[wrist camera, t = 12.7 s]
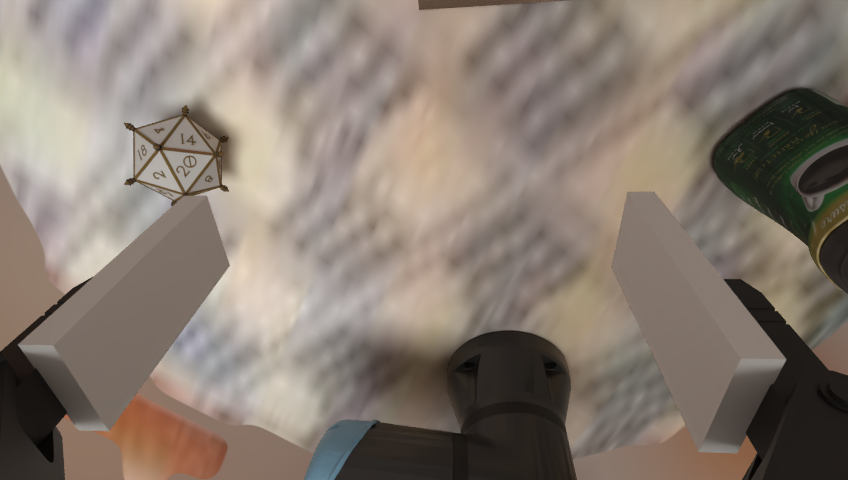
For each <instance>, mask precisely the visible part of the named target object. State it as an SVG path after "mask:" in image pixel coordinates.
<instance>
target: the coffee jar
mask: <svg viewBox="0 0 848 480" xmlns="http://www.w3.org/2000/svg"><path fill="white" fill-rule="evenodd" d="M713 165H714V170H715V172H716V174H717V176H718V177H719V179H720V180H721V181H722V182H723V183H724V185H725V186H726V187H727V188H728V189H730V190H731V191H732V192H733V193H734V194H735V195H737V196H738V197H739V198H740V199H742V200H743V201H745V202H746V203H747V204H749V205H751V206H752V207H754V208H755V209H757V210H758V211H760V212H761V213H763V214H764V215H766V216H768V217H769V218H771V219H773V220H774V221H775V222H777V223H778V224H780V225H781V226H783V227H784V228H786V229H787V230H788V231H790V232H791V233H793V234H794V235H795V236H796V237H797V238H799V239H800V240H801V241H802V242H804V243H805V244H806V245H807V246H808V247H809V251H810V254H811V257H812V259H813V260H814V262H815V264H816V265H817V267H818V268H819V269H820V271H821V272H822V273H823V274H824V275H825V276H826V277H827V278H828V279H829V280H830V281H831V282H832V283H833V284H834V285H835V286H837V287H838V288H839V289H841V290H843V291H845V292H846V293H848V107H846V106H845V105H843V104H841V103H840V102H838V101H836V100H835V99H833V98H831V97H829V96H827V95H825V94H823V93H820V92H818V91H815V90H811V89H800V90H795V91H791V92H789V93H787V94H784V95H782V96H781V97H779V98H777V99H776V100H774V101H772V102H771V103H769V104H768V105H766V106H765V107H764V108H762V109H761V110H759V111H758V112H756V113H755V114H754V115H752V116H751V117H750V118H749V119H747V120H746V121H745V122H744V123H742V124H741V125H740V126H739V127H738V128H737V129H736V130H734V131H733V132H732V133H731V134H730V135H729V136H728V137H727V138H726V139H725V140H724V141H723V142H722V143H721V144H720V146H719V147H718V149H717V151H716V152H715V155H714V161H713Z"/></svg>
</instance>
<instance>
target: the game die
mask: <svg viewBox="0 0 848 480" xmlns="http://www.w3.org/2000/svg"><path fill="white" fill-rule="evenodd" d="M182 109H183V110H182V112H183V115H179V116H176V117H173V118H169V119H166V120H162V121H159V122H156V123H152V124H149V125H146V126H142V127H139V128H135V127H134V125H131V123H124V124H125V126H126V129H127V128H128V129H129V130H132V131H133V156H134V178H132V179H131V178H130V179H127V180H126V182H125V184H124V185H130V186H131V184H134V182H138V183H140V184H142V185H144V186H146V187H148V188H150V189H152V190H154V191H156V192H158V193H160V194H162V195H164V196H166V197H167V198H169V199H171V200H173V201H172V202H171V203H172V204H171V206H173V205H175V204H176V203H177V201H178V200H180V199H181V198H182V197H183V196H194V195H197V194H200V193H203V192H206V191H210V190H213V189H216V188H221V190H223V191H229V190H228V188H227V187H226V186H225V185H222V173H221V157H222V156H223V154H224V153H223V152H222V151H221V142H226V141H227V139H228V137H224V136H223V137H221V138H220V139H218V138H216V137H215V136H214V135H212V134H211V133H210V132H208V131H207V130H206V129H204V128H203V127H202V126H200V125H199V124H198V123H196V122H195V121H194V120H192V119H191V118H190V117H188V116H187V114H188V113H189V112H188V110H189V109H188V108H187V106H186V105H185V106H184V108H182Z"/></svg>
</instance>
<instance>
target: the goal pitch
mask: <svg viewBox="0 0 848 480" xmlns="http://www.w3.org/2000/svg"><path fill="white" fill-rule="evenodd" d="M548 1H564V0H418V2H419V10H424V9H440V8H455V7H471V6H486V5H502V4H517V3H533V2H548Z"/></svg>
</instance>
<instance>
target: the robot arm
mask: <svg viewBox="0 0 848 480" xmlns="http://www.w3.org/2000/svg"><path fill="white" fill-rule="evenodd" d="M229 266H230V265H229V262H228V259H227V256H226V253H225V250H224V247H223V243H222V240H221V237H220V234H219V231H218V228H217V225H216V222H215V219H214V216H213V213H212V210H211V207H210V204H209V201H208V198H207V196H183V197H182V198H181V199H180V200H179V201H178V202H177V203H176V204H175V205H173V206H172V207H171V208H170V209H169V210H168V211H167V212H166V213H164V214H163V215H162V216H161V217H160V218H159V219H158V220H157V221H156V222H154V223H153V224H152V225H151V226H150V227H149V228H148V229H147V230H145V231H144V232H143V233H142V234H141V235H140V236H139V237H138V238H137V239H135V240H134V241H133V242H132V243H131V244H130V245H129V246H128V247H126V248H125V249H124V250H123V251H122V252H121V253H120V254H119V255H118V256H116V257H115V258H114V259H113V260H112V261H111V262H110V263H109V264H107V265H106V266H105V267H104V268H103V269H102V270H101V271H100V272H99V273H97V274H96V275H95V276H94V277H92V278H90V279H88V280H86V281H85V282H83V283H81V284H79V285H78V286H76V287H74V288H72V289H71V290H70V291H69V292H68V293H67V294H66V295H65V296H63V297H62V298H61V299H60V300H59V301H58V302H57V305H53V306H52V307H51V308H50V309H49V310H47V311H46V312H45V315H44V316H41V317H39V318H38V319H37V320H36V321H35V322H34V323H33V324H31V325H30V326H29V327H28V328H27V329H26V330H25V331H24V332H22V333H21V334H20V335H19V336H18V337H17V338H15V340H13V341H12V342H11V343H10V344H9V345H8V346H6V347H5V348H4V349H3V350H2V351H1V352H0V480H65V473H64V458H63V443H62V436H61V434H60V432H59V430H58V429H57V427H56V425H57V424H58V423H59V422H60V421H61V419H62V418H63V417H64V416H65V415H66V414H67V415H68V416H69V418H70V419H71V421H72V422H73V423H74V425H75V426H76V428H77V429H78V430H90V431H109V430H110V429H111V428H112V426H113V425H114V424H115V422H116V421H117V420H118V418H119V417H120V415H121V414H122V413H123V411H124V410H125V409H126V407H127V406H128V404H129V403H130V402H131V400H132V399H133V398H134V396H135V395H136V393H137V392H138V391H139V389H140V388H141V387H142V385H143V384H144V382H145V381H146V380H147V378H148V377H149V376H150V374H151V373H152V372H153V370H154V369H155V367H156V366H157V365H158V363H159V362H160V361H161V359H162V358H163V356H164V355H165V354H166V352H167V351H168V350H169V348H170V347H171V345H172V344H173V343H174V341H175V340H176V339H177V337H178V336H179V334H180V333H181V332H182V330H183V329H184V328H185V326H186V325H187V324H188V322H189V321H190V319H191V318H192V317H193V315H194V314H195V313H196V311H197V310H198V308H199V307H200V306H201V304H202V303H203V302H204V300H205V299H206V297H207V296H208V295H209V293H210V292H211V291H212V289H213V288H214V286H215V285H216V284H217V282H218V281H219V280H220V278H221V277H222V275H223V274H224V273H225V271H226V270H227V269H228V267H229ZM612 269H613V271H614V273H615V275H616V277H617V280H618V282H619V284H620V286H621V288H622V290H623V292H624V294H625V297H626V299H627V301H628V303H629V305H630V307H631V309H632V311H633V314H634V316H635V318H636V320H637V322H638V324H639V326H640V328H641V331H642V333H643V335H644V337H645V339H646V341H647V343H648V345H649V348H650V350H651V352H652V354H653V356H654V358H655V360H656V362H657V365H658V367H659V369H660V371H661V373H662V375H663V377H664V379H665V382H666V384H667V386H668V388H669V390H670V392H671V394H672V396H673V399H674V401H675V403H676V405H677V407H678V409H679V411H680V413H681V416H682V418H683V420H684V422H685V424H686V426H687V428H688V430H689V433H690V435H691V437H692V439H693V441H694V443H695V445H696V447H697V450H698V452H717V453H718V452H719V453H737V452H738V450H739V449H740V447H741V445H742V443H743V441H744V439H745V437H746V435H747V436H748V438H749V439H750V441H751V443H752V444H753V446H754V448H755V450H756V451H757V454H756V456H755V458H754V460H753V462H752V463H751V465H750V467H749V469H748V470H747V472H746V474H745V476H744V477H743V479H742V480H848V375H844V374H841V373H838V372H835V371H829V370H828V369H827V368H826V367H825V365H824V364H823V363H822V362H821V361H820V360H819V359H818V357H817V356H816V355H815V354H814V353H813V352H812V350H811V349H810V348H809V347H808V346H807V345H806V344H805V342H804V341H803V340H802V339H801V338H800V337H799V336H798V334H797V333H796V332H795V331H794V330H793V329H792V327H791V326H790V325H789V324H786V321H785V319H784V318H783V317H782V316H781V315H780V314H779V313H778V311H775V308H774V307H773V306H772V304H771V303H770V302H769V301H768V300H767V299H766V298H765V296H764V295H763V294H762V293H761V292H759V291H758V290H756V289H755V288H753V287H752V286H750V285H749V284H747V283H746V282H744V281H742V280H741V279H723V278H722V277H721V276H720V275H719V273H718V272H717V271H716V269H715V268H714V267H713V266H712V264H711V263H710V262H709V261H708V259H707V258H706V257H705V256H704V254H703V253H702V252H701V251H700V249H699V248H698V247H697V245H696V244H695V243H694V242H693V240H692V239H691V238H690V237H689V235H688V234H687V233H686V232H685V230H684V229H683V228H682V226H681V225H680V224H679V223H678V221H677V220H676V219H675V218H674V216H673V215H672V214H671V213H670V211H669V210H668V209H667V207H666V206H665V205H664V204H663V202H662V201H661V200H660V199H659V197H658V196H657V195H656V194H655V192H627V197H626V202H625V206H624V211H623V216H622V221H621V225H620V230H619V235H618V240H617V244H616V249H615V254H614V258H613V263H612ZM447 390H448V395H449V398H450V400H451V403H452V406H453V409H454V412H455V415H456V417H457V420H458V423H459V426H460V429H461V434H459V433H452V432H446V431H439V430H431V429H424V428H416V427H408V426H401V425H394V424H388V423H381V422H380V421H378V420H373V421H358V420H341V421H338V422H336V423H334V424H333V425H332V426H331V427H330V428H329V429H328V430H327V431H326V433H325V434H324V436H323V437H322V439H321V441H320V443H319V444H318V446H317V448H316V451H315V453H314V455H313V457H312V460H311V462H310V465H309V467H308V470H307V473H306V475H305V478H304V480H577V478H576V473H575V469H574V464H573V460H572V455H571V451H570V446H569V442H568V438H567V433H566V428H565V422H566V416H567V409H568V403H569V397H570V390H571V380H570V375H569V371H568V366H567V363H566V360H565V358H564V356H563V355H562V353H561V352H560V351H559V350H558V349H557V348H556V347H555V346H554V345H552V344H551V343H549V342H548V341H546V340H544V339H542V338H540V337H537V336H534V335H531V334H527V333H521V332H496V333H490V334H486V335H483V336H480V337H477V338H475V339H473V340H471V341H469V342H467V343H466V344H464V345H463V346H461V347H460V348H459V349H458V350H457V351H456V352H455V353H454V355H453V356H452V358H451V360H450V362H449V365H448V369H447Z"/></svg>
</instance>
